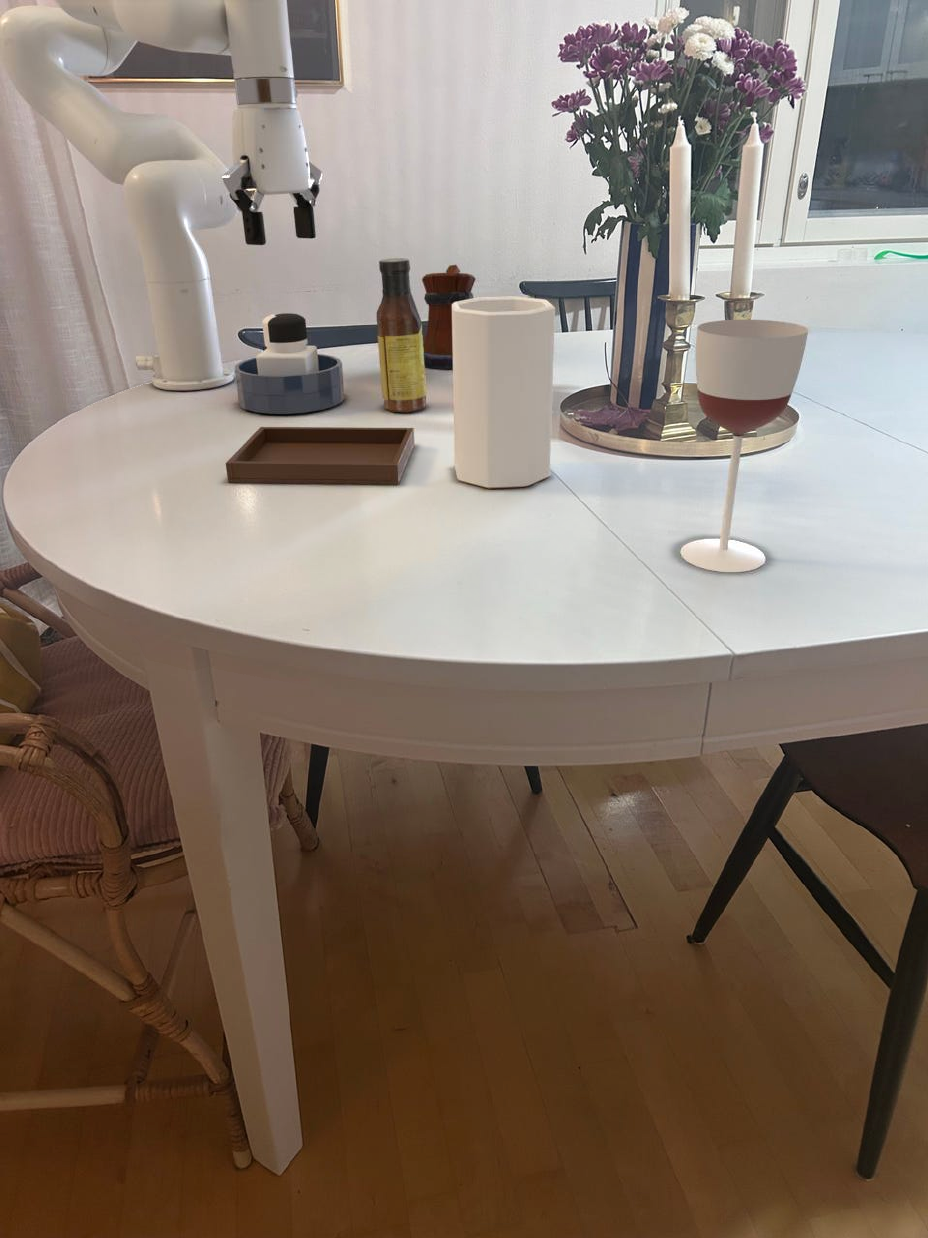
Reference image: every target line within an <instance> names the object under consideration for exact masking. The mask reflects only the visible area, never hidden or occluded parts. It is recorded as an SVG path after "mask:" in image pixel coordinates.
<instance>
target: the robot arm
mask: <svg viewBox="0 0 928 1238" xmlns="http://www.w3.org/2000/svg"><path fill="white" fill-rule="evenodd" d="M53 1H54V3H56V5H57V6H58V7H56V6H55V7H54V6H47V5H23V6H22V5H21V6H17V7H13V8H11V9H9V10H7V11H5V12H4V13H3V14H2V15H1V16H0V60H1V63H2V66H3V68H4V70H5V72H6V75H7V76H8V79H9V80H10V82H11V83H12V85H13V87H14V88H15V90H16V91H17V92H18V93H19V96H21V97H22V99H23V100H24V101H25V102H26V103H27V104H28V105H29V106H30V107H31V108H32V109H33V110H34V111H35V112H36V113H37V114H39V115H40V116H41V117H42V118H43V119H45V120H46V121H47V122H48V123H50V124H51V125H52V126H53V127H54V128H55V129H56V130H58V131H59V132H60V133H61V135H63V136H64V137H65V138H66V139H67V141H68V142H69V143H70V144H71V145H72V146H73V147H74V148H75V149H76V150H77V151H78V152H79V153H80V154H81V155H82V156H83V157H84V158H85V159H86V160H87V161H88V162H89V163H90V164H91V165H92V166H93V167H94V168H95V169H96V170H97V172H99V173H100V174H101V175H102V176H103V177H104V178H106V180H108V181H110V182H111V183H113V184H117V185H121V186H123V187H122V194H123V196H122V197H123V201H124V205H125V209H126V211H127V214H128V217H129V221H130V222H131V225H132V228H133V231H134V235H135V237H136V241H137V245H138V249H139V254H140V258H141V263H142V268H143V269H142V270H143V274H144V280H145V285H146V292H147V298H148V303H149V309H150V315H151V322H152V327H153V332H154V338H155V344H156V349H157V350H156V351H157V353H155V354H154V355H152V356H150V355H136V356H135V359H134V362H135V366H136V368H137V369H138V370H139V371H148V370H151V371H153V372H154V375H153V376H152V377H151V380H152V381H151V382H152V385H153V386H154V387H155V388H157V389H160V390H165V391H166V390H167V391H196V390H197V391H198V390H207V389H212V388H217V387H221V386H225V385H227V384H229V383H231V382H233V380H234V379H235V376H234V371H233V370H232V369H230V368H228V367H223V362H222V354H221V347H220V340H219V332H218V325H217V318H216V311H215V304H214V303H215V302H214V296H213V289H212V282H211V275H210V267H209V263H208V260H207V258H206V257H207V256H206V254H205V253H204V250H203V249H202V247H201V245H200V243H199V242H198V240H197V238H196V237H195V236H194V234H193V231H201V230H209V229H210V230H211V229H217V228H221V227H222V228H223V227H225V226H227V225H229V224H230V223H231V222H233V221H234V220H235V219H236V217H237V216H238V213H241V217H242V225H243V232H244V240H245V243H246V245H248V246H264V245H266V244H267V238H266V230H265V229H266V228H265V222H264V221H265V220H264V214H263V211H259V209H260V206H261V204H262V202H263V199H264V197H265V196H266V195H267V196H271V195H272V196H273V195H274V196H275V195H287V194H288V195H290V197H291V198H292V200H293V202H294V203H295V205H296V206H293V218H294V230H295V236H296V238H297V239H315V238H316V237H317V234H316V223H315V211H314V207H316V205H317V198H318V195H319V194H320V186H321V180H322V176H323V173H322V171H321V169H320V168H318V167H317V166H315V164H313V163H312V162H310V161H309V153H308V146H307V141H306V140H307V139H306V136H305V129H304V125H303V120H302V116H301V113H300V109H299V108H298V105H297V98H298V90H297V89H296V84H295V75H294V74H295V73H294V65H293V64H294V63H293V54H292V43H291V33H290V21H289V11H288V1H287V0H53ZM138 42H139V43H143V44H145V45H149V46H152V47H153V46H154V47H158V48H161V49H165V50H169V51H174V52H180V53H195V54H197V53H198V54H209V55H216V56H217V55H218V56H219V55H220V56H230V57H231V58H230V59H231V66H232V75H233V80H234V81H233V82H234V90H235V92H234V93H235V99H236V106H237V107H236V108H234V109H233V111H232V117H231V118H232V121H231V151H232V152H231V153H232V164H233V165H232V166H231V167H230V169H229V168H228V167H227V166H226V165H225V164H224V163H223V161H221V160H220V159H219V157H217V155H215V154H214V152H213V151H212V150H210V148H208V147H207V146H206V145H205V144H204V143H203V142H202V141H201V140H200V139H199V138H198V137H197V136H196V135H195V134H194V133H193V132H192V131H191V130H190V129H189V128H188V127H187V126H186V125H185V124H184V123H182V122H180V121H179V120H177V119H175V118H173V117H171V116H167V115H164V114H155V113H154V114H152V113H132V112H127V111H124V110H121V109H120V108H118V107H117V106H116V105H115V104H113V103H112V102H111V101H110V100H109V99H108V97H106V96H105V95H104V94H103V93H102V92H101V90H99V89H98V88H96V87H95V86H94V85H93V84H91V83H89V82H88V81H86V80H84V79H82V78H81V77H104V76H109V75H111V74H112V73H114V72H115V71H116V70H118V69H119V68H120V66H121V65H122V64H123V62H124V61H125V59H127V57H128V55H129V54H130V53H131V51H132V50H133V49H134V47H135V45H136V44H138ZM79 76H81V77H79Z"/></svg>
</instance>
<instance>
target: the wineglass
mask: <svg viewBox="0 0 928 1238" xmlns="http://www.w3.org/2000/svg"><path fill="white" fill-rule="evenodd" d="M808 334H809V329H808V327H806V326H804V325H801V324H797V323H792V322H785V321H779V320H769V319H767V320H766V319H724V320H714V321H708V322H704V323H701V324H699V325H698V326H697V328H696V340H695V351H694V352H695V353H694V356H695V378H696V389H697V397H698V398H697V399H698V403H699V407H700V409H701V411H702V413H703V414H704V415H705V416H706V417H707V418H708V419H709V420H710V421H711V422H712V423H714V424H715V425H717V426H719V427H721V429H724V430H726V431H727V432H729V433H731V434H732V435H733V436H732V437H733V438H732V444H731V445H732V447H731V452H730V453H731V454H730V460H729V468H728V476H727V483H726V491H725V500H724V508H723V515H722V522H721V530H720V538H704V539H703V538H702V539H697V540H693V541H690V542H688V543H686V544H684V545H682V546H681V550H680V552H679V553H680V555H681V558H682V559H683V560H685V561H686V562H687V563H689V564H691V565H693V566H695V567H697V568H701V569H704V570H707V571H708V570H709V571H713V572H719V573H744V572H750V571H752V570H756V569H759V568H760V567H761V566H763V565H765V563H766V560H767V559H766V556H765V554H764V552H762V551H761V550H760V549H758V548H757V547H755V546H753V545H750V544H748V543H746V542H740V541H737V540H732V539H730V535H731V527H732V520H733V512H734V504H735V497H736V489H737V484H738V483H737V482H738V474H739V467H740V461H741V452H742V446H743V444H742V443H743V438H744V436H745V435H746V434H748V433H750V432H752V431H755V430H757V429H760V428H762V427H764V426H766V425H769V424H770V423H772V422H774V421H775V420H776V419H777V418H779V417H780V416H781V415H782V413H783V412H784V411H785V410H786V408H787V407H788V404H789V402H790V399H791V397H792V394H793V391H794V388H795V386H796V383H797V380H798V377H799V374H800V370H801V368H802V367H801V366H802V362H803V358H804V354H805V351H806V345H807V341H808Z"/></svg>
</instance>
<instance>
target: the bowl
mask: <svg viewBox="0 0 928 1238" xmlns="http://www.w3.org/2000/svg"><path fill="white" fill-rule="evenodd" d="M317 355H318V366H319V372H314V373H307V374H300V375H285V376H267V375H258V368H257V360H256V357H251V358H247V359H245V360H242V361H240V362H238V363H237V364H235V365H234V374H235V376H234V377H235V381H236V382H235V383H236V388H237V389H236V391H237V397H238V398H237V399H238V405H239V407H241V408H242V409H244V410H246V411H249V412H253V413H260V414H267V415H293V414H295V415H296V414H305V413H306V414H307V413H312V412H316V411H322V410H326V409H330V408H332V407H335V406H337V405H339V404H341V403H343V401H344V400H345V397H346V396H345V384H344V373H343V372H344V371H343V362H342V360H341V359H340V358H338V357H336V356H334V355H333V356H332V355H329V354H323V353H317Z"/></svg>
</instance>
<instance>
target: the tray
mask: <svg viewBox="0 0 928 1238" xmlns="http://www.w3.org/2000/svg"><path fill="white" fill-rule="evenodd" d="M414 448H415V428H414V427H337V426H335V427H330V426H329V427H328V426H322V427H320V426H260V427H259V428H258V429H257V430H256V431H255V432H254V433H253V435H252V434H251V436H250V437H249V438H248V439H247V440H246V441H245V442H244V443H243V445H242V446H241V447H239V449H238V450H236V451H235V453H233V455H232V456H231V457H230V458H229V459H228V460H227V461H226V462H225V470H226V475H227V483H229V484H230V483H231V484H234V483H235V484H239V483H240V484H244V483H246V484H309V485H310V484H311V485H312V484H314V485H316V484H319V485H320V484H321V485H323V484H324V485H394V486H395V485H399V484H400V482H401V479H402V477H403V475H404V472H405V470H406V467H407V465H408V463H409V460H410V458H411V455H412V453H413V450H414Z"/></svg>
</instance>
